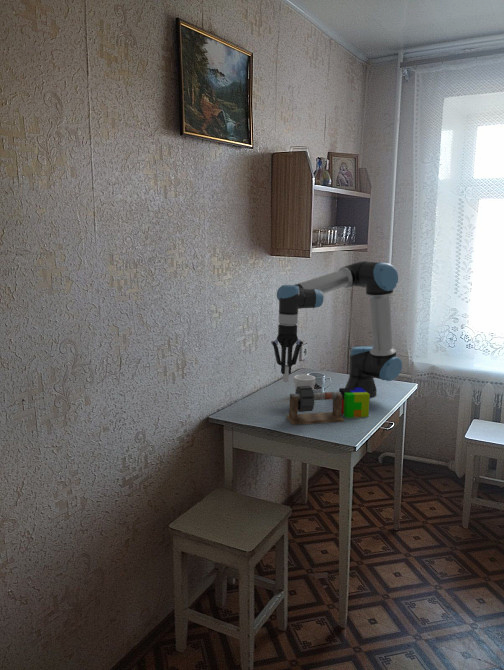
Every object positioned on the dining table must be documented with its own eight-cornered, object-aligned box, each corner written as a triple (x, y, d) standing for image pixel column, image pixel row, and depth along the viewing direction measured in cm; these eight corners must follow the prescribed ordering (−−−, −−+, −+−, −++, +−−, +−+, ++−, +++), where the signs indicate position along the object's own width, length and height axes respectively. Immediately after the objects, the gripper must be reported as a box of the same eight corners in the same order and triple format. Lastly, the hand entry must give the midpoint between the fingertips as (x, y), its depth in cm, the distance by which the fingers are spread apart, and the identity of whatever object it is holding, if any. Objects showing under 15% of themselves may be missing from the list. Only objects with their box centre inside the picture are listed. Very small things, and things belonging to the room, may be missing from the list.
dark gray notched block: (306, 406, 230) (307, 383, 228) (313, 414, 221) (314, 390, 219) (294, 406, 229) (295, 383, 227) (302, 414, 220) (302, 390, 218)
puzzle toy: (359, 409, 241) (361, 387, 239) (368, 416, 232) (369, 394, 230) (338, 410, 240) (339, 388, 238) (346, 417, 230) (347, 395, 228)
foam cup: (312, 409, 240) (314, 380, 237) (292, 407, 242) (292, 379, 239) (314, 402, 249) (315, 375, 246) (294, 401, 251) (295, 373, 248)
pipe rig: (336, 414, 233) (337, 388, 231) (343, 421, 225) (345, 395, 223) (286, 417, 229) (287, 391, 227) (292, 424, 220) (293, 397, 218)
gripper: (300, 322, 221) (298, 378, 226) (269, 322, 219) (267, 379, 223) (306, 325, 214) (303, 383, 218) (274, 325, 211) (272, 384, 216)
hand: (285, 381), depth 221 cm, fingers closed
